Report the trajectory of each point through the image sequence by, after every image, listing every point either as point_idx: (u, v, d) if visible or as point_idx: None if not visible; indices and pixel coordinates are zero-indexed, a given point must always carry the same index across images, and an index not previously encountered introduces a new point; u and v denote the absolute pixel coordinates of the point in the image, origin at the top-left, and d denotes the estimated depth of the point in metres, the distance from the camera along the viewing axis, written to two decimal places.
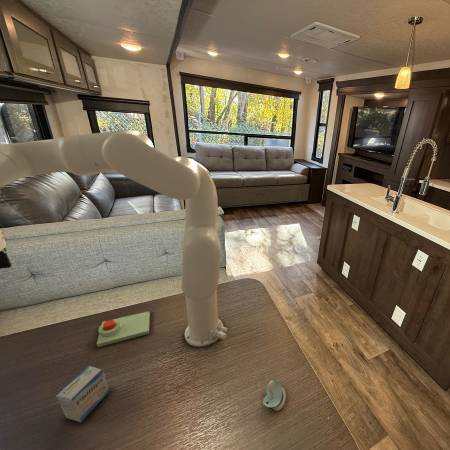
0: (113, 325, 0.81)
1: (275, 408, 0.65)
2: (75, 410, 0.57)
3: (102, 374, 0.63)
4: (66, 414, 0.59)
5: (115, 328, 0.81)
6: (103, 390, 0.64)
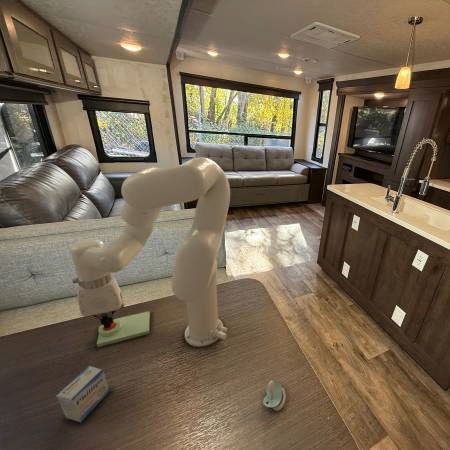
0: (113, 327, 0.82)
1: (275, 408, 0.65)
2: (74, 410, 0.57)
3: (102, 374, 0.63)
4: (66, 414, 0.59)
5: (115, 328, 0.81)
6: (103, 390, 0.64)
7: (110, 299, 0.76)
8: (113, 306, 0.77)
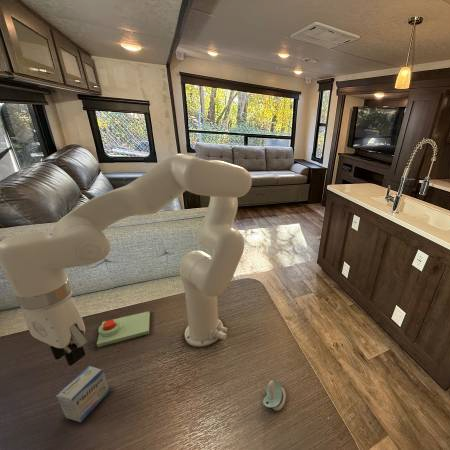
0: (113, 325, 0.81)
1: (275, 408, 0.65)
2: (74, 410, 0.57)
3: (102, 374, 0.63)
4: (66, 414, 0.59)
5: (115, 328, 0.81)
6: (103, 390, 0.64)
7: (48, 330, 0.49)
8: (54, 342, 0.50)
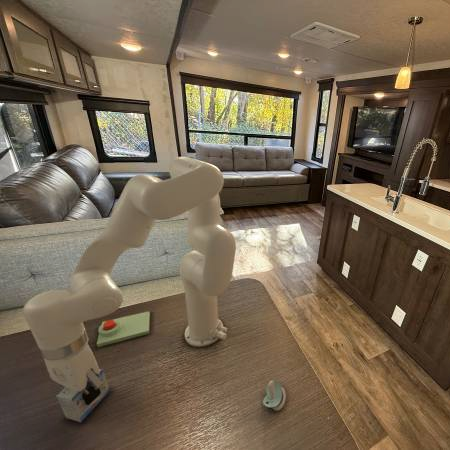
0: (113, 325, 0.81)
1: (275, 408, 0.65)
2: (75, 410, 0.57)
3: (102, 374, 0.63)
4: (66, 414, 0.59)
5: (115, 328, 0.81)
6: (103, 390, 0.64)
7: (68, 377, 0.54)
8: (72, 386, 0.55)
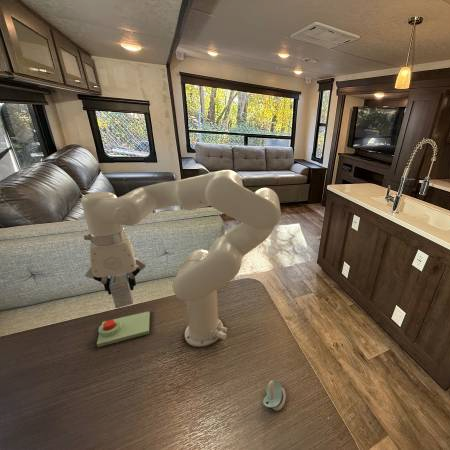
0: (113, 325, 0.81)
1: (275, 408, 0.65)
2: (129, 291, 0.73)
3: None
4: (117, 303, 0.73)
5: (115, 328, 0.81)
6: None
7: (124, 259, 0.70)
8: (127, 267, 0.71)
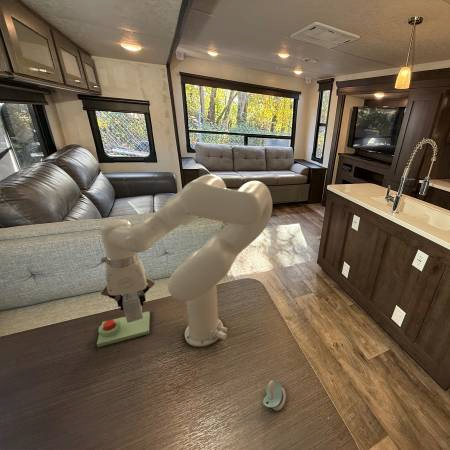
0: (113, 325, 0.81)
1: (275, 408, 0.65)
2: (140, 307, 0.80)
3: None
4: (129, 318, 0.80)
5: (115, 328, 0.81)
6: None
7: (136, 279, 0.77)
8: (139, 286, 0.78)
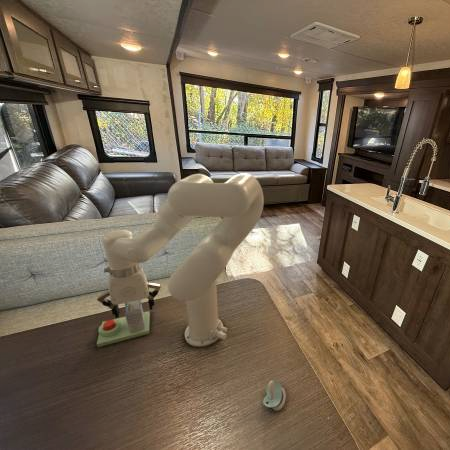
0: (113, 325, 0.81)
1: (275, 408, 0.65)
2: (142, 317, 0.82)
3: None
4: (131, 328, 0.81)
5: (115, 328, 0.81)
6: (142, 311, 0.88)
7: (138, 288, 0.79)
8: (141, 295, 0.80)
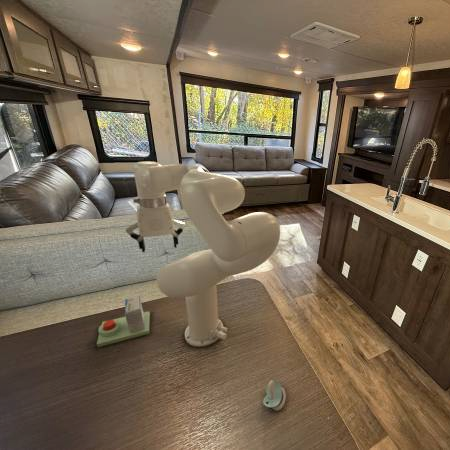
0: (113, 325, 0.81)
1: (275, 408, 0.65)
2: (142, 317, 0.82)
3: None
4: (131, 328, 0.81)
5: (115, 328, 0.81)
6: (142, 311, 0.88)
7: (165, 222, 0.81)
8: (167, 229, 0.82)
